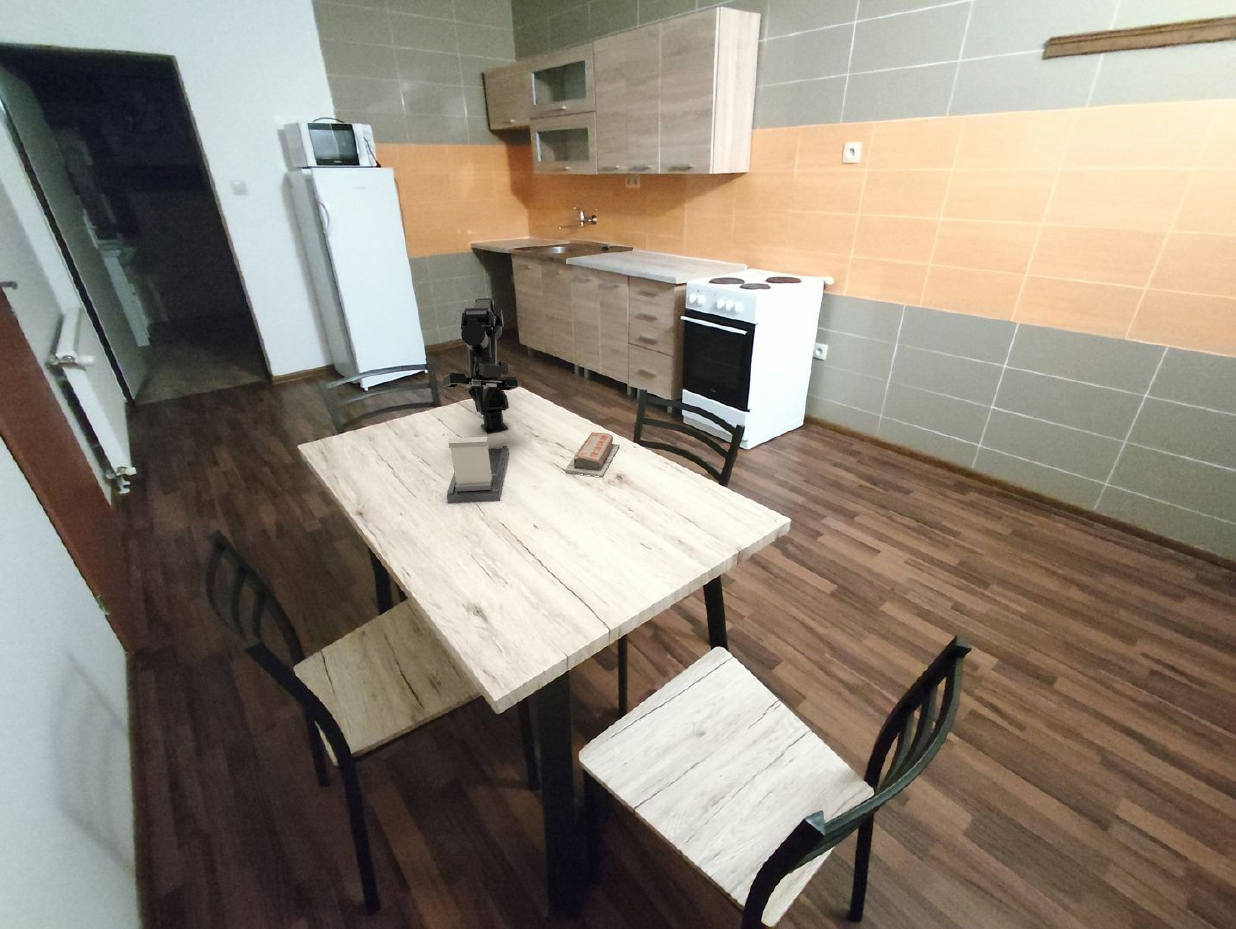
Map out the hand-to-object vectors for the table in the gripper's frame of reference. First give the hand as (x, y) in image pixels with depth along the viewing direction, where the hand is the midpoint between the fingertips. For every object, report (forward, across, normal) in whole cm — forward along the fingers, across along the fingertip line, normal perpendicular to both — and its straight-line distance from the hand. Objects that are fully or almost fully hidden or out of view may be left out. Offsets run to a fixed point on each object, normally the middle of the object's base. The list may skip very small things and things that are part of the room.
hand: (483, 415), depth 147 cm
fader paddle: (+18, -7, -10) cm, 22 cm away
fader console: (+16, -3, -3) cm, 17 cm away
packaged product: (+14, +25, -13) cm, 31 cm away
